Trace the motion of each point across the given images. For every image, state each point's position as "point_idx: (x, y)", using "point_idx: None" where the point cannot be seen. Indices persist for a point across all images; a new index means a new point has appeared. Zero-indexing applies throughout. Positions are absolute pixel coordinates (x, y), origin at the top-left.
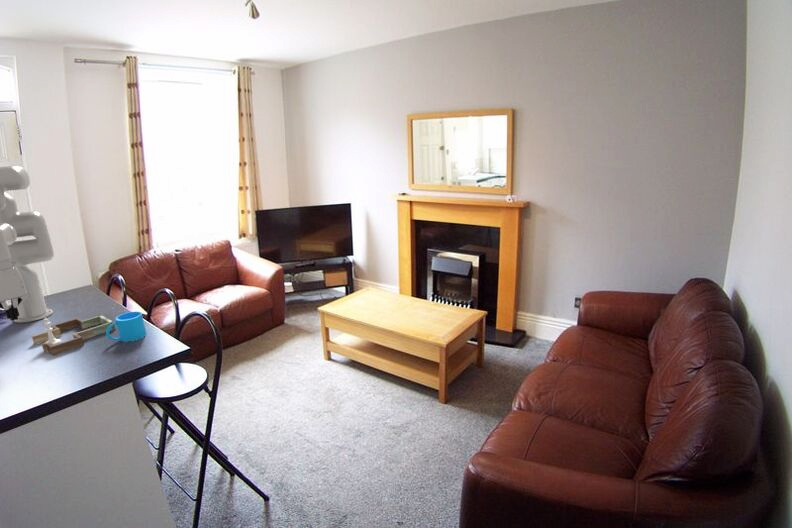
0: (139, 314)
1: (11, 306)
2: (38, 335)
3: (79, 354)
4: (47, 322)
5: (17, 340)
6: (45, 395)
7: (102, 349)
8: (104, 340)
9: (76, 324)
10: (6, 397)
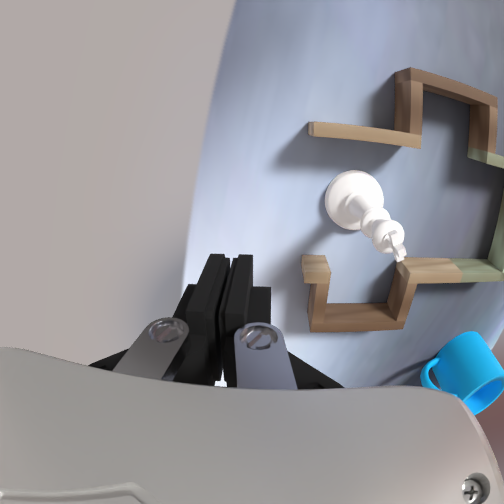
0: (489, 403)
1: (226, 374)
2: (338, 137)
3: (347, 359)
4: (390, 246)
5: (272, 13)
6: None
7: (388, 371)
8: (430, 323)
9: (471, 103)
10: None
